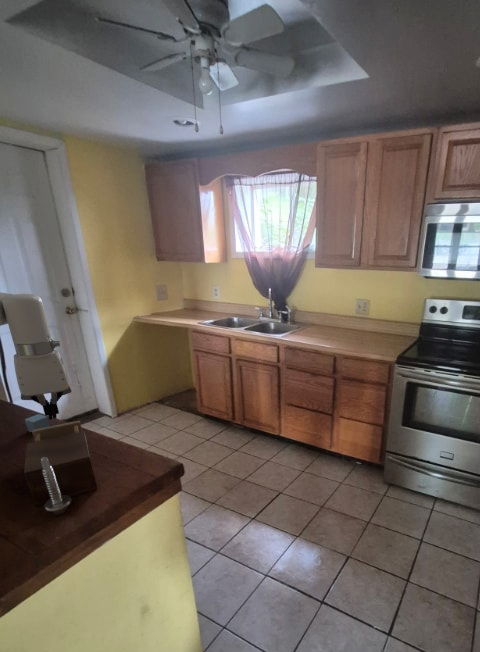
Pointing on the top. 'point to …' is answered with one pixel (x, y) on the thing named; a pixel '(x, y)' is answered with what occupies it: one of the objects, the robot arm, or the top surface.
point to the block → (37, 422)
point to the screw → (54, 491)
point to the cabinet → (60, 466)
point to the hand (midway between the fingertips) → (52, 416)
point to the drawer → (56, 431)
